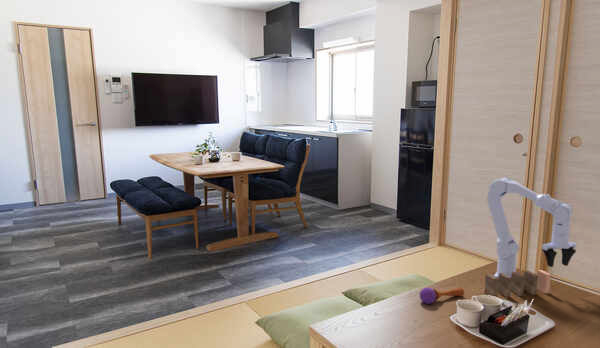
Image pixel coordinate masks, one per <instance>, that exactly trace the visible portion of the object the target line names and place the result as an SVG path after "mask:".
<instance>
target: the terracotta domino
mask: <svg viewBox="0 0 600 348" xmlns="http://www.w3.org/2000/svg"><path fill="white" fill-rule="evenodd" d="M536 275H538V281H537V291H539V292H541V293H543V294H545V293H546V294H549V293H550V288H551V279H552V274H551V273H549V272H547V271H545V270H543V269H537V271H536Z"/></svg>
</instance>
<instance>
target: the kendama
mask: <svg viewBox="0 0 600 348" xmlns="http://www.w3.org/2000/svg"><path fill="white" fill-rule="evenodd" d="M464 295H465V290H464V288H463V287H456V288H454V289H450V290H446V291H442V292H441V291H438V290H436V289H435V288H433V289H432V288H431V287H424V288H423V289H421V290H420V292H419V299H420V301H421V302H423V303H424V304H427V305H429V304H430V305H431V304H433V303H434V302H435V301H437V300H439V299H440V298H441V297H443V296H444V297H446V296H447V297H448V296H449V297H463V296H464Z"/></svg>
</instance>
